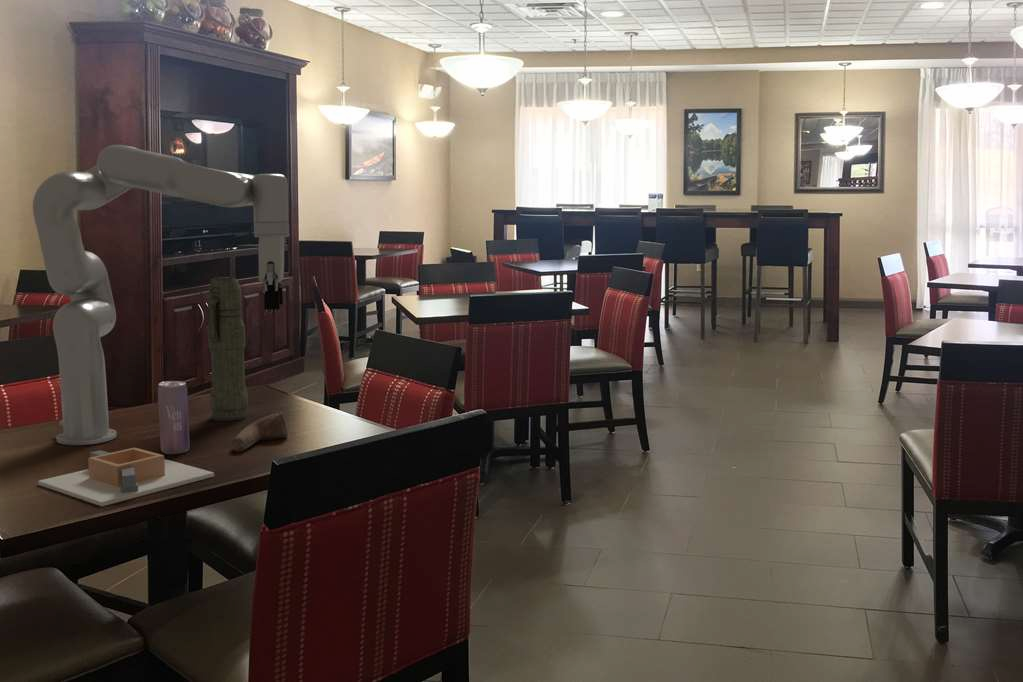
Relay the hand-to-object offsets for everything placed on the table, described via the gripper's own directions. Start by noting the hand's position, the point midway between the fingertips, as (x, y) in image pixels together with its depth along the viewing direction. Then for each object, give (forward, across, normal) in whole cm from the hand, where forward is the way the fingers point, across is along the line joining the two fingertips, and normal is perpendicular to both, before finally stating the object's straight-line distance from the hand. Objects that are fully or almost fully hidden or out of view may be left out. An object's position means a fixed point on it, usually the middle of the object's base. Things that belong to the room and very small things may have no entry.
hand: (274, 306), depth 224 cm
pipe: (+31, +4, -3) cm, 31 cm away
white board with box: (+30, +30, -26) cm, 50 cm away
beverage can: (+31, +8, -21) cm, 38 cm away
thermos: (+31, -24, -14) cm, 41 cm away
